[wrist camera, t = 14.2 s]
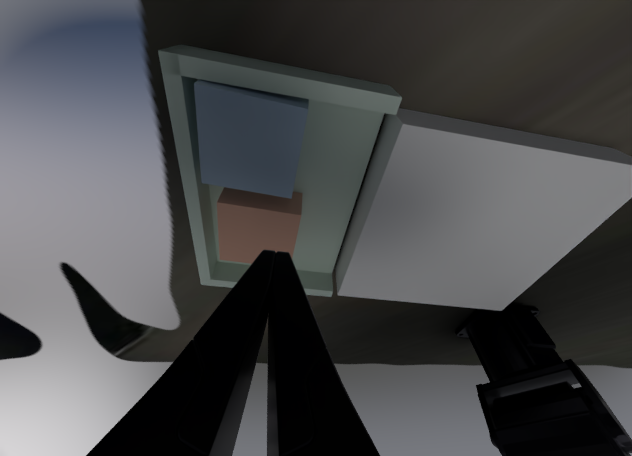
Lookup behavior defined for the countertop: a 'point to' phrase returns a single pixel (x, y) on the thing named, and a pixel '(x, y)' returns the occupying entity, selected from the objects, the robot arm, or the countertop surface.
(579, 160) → the plate
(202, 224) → the tray
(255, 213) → the terracotta tile
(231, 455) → the robot arm
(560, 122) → the countertop surface
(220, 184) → the slate blue tile
